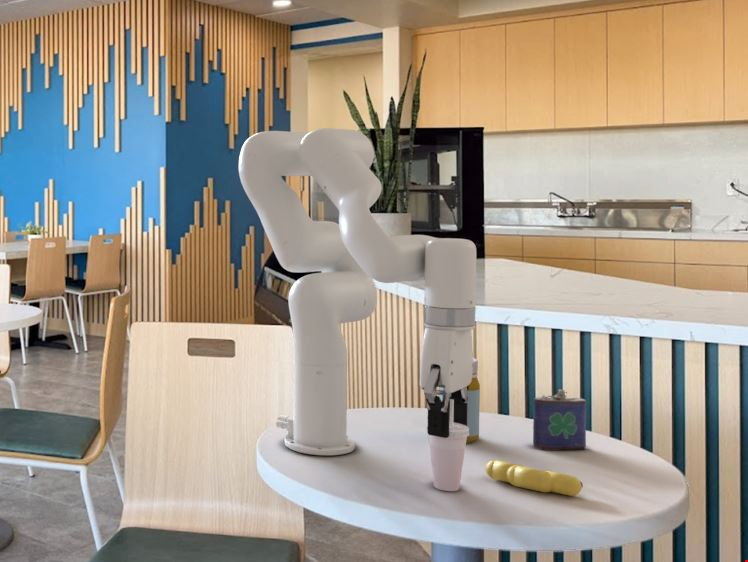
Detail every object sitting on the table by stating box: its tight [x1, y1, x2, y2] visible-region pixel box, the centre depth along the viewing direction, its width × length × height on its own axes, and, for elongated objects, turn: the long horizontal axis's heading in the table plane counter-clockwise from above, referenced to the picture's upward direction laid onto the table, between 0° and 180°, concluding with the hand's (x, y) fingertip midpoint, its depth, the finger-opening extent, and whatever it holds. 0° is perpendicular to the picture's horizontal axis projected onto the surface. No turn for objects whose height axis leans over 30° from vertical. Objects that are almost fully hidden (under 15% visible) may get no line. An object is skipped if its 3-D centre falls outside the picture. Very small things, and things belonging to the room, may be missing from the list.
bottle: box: [439, 357, 481, 444], centre depth 163 cm, size 7×7×15 cm
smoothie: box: [425, 399, 469, 492], centre depth 136 cm, size 6×6×14 cm
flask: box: [532, 388, 587, 451], centre depth 157 cm, size 9×3×11 cm, turn 88°
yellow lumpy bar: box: [485, 459, 584, 497], centre depth 136 cm, size 14×4×3 cm, turn 48°
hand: (447, 430), depth 136 cm, fingers closed on smoothie, 6 cm apart
